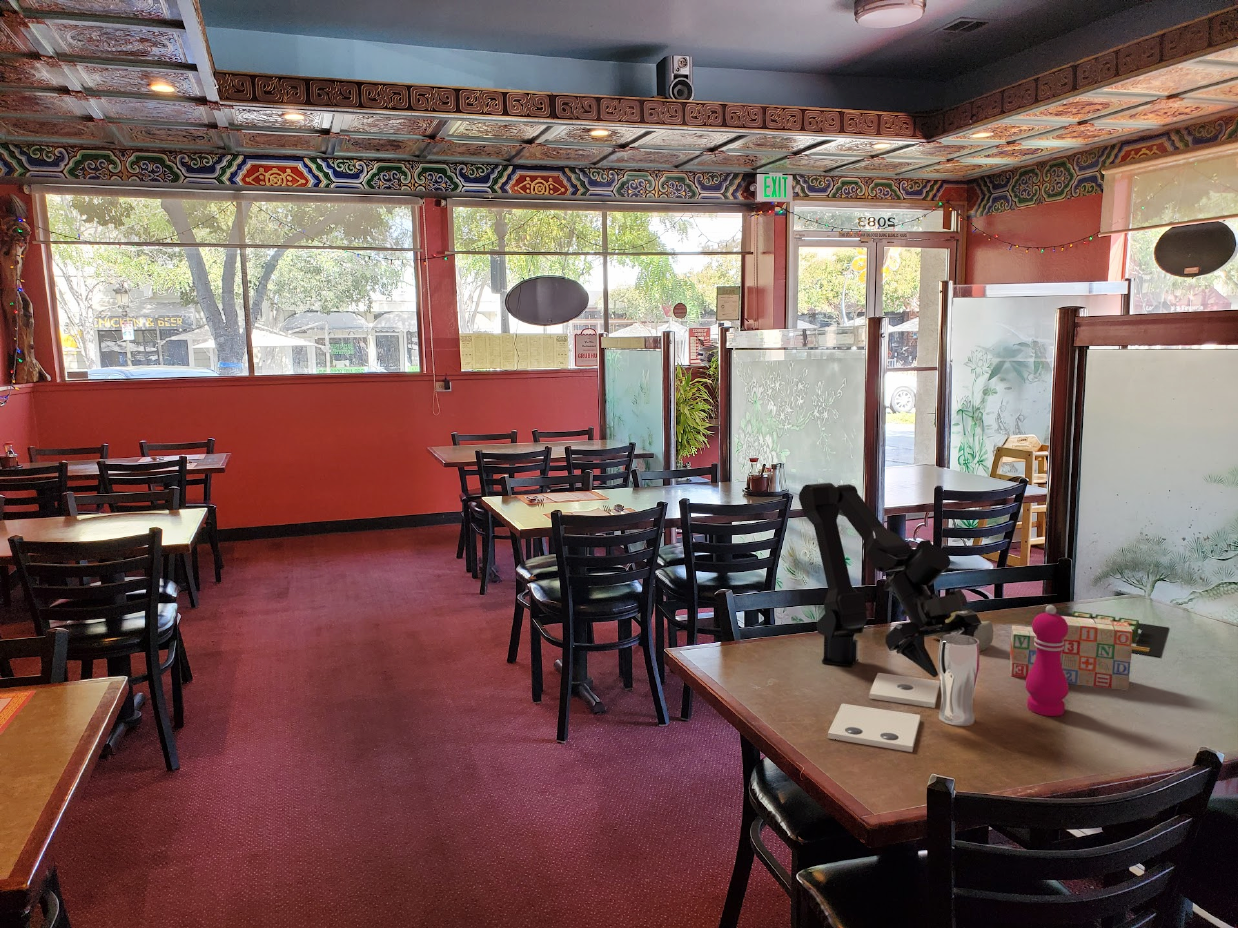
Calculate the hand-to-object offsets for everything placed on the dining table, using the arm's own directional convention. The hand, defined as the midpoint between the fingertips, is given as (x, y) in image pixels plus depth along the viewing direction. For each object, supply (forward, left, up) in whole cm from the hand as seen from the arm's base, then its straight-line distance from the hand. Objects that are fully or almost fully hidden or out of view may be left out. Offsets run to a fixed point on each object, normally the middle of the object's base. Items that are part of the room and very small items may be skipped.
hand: (956, 672), depth 161 cm
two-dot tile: (-13, -10, -9) cm, 18 cm away
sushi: (+29, +66, -10) cm, 72 cm away
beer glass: (0, 0, -9) cm, 9 cm away
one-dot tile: (-10, +10, -9) cm, 16 cm away
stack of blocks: (+20, +30, -9) cm, 37 cm away
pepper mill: (+15, +11, -9) cm, 21 cm away
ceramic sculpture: (0, +45, -9) cm, 46 cm away
